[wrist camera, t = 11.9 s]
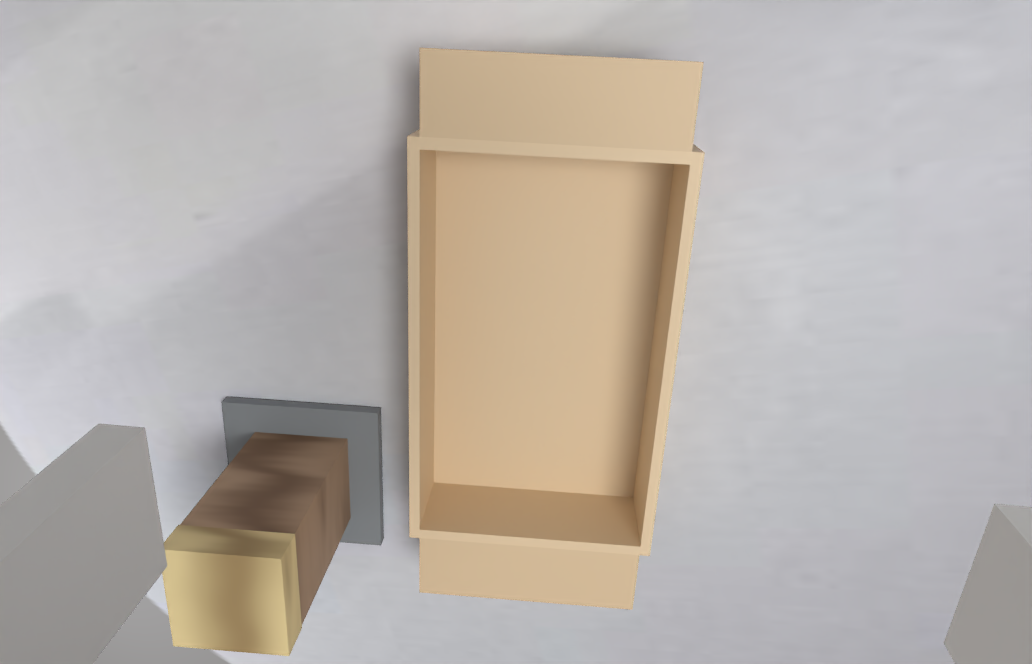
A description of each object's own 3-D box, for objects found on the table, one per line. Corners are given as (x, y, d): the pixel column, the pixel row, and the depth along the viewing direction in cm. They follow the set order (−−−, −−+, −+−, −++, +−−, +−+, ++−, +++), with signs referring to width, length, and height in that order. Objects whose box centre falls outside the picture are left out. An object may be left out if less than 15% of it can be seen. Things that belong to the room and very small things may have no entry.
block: (261, 511, 50) (173, 646, 39) (254, 431, 48) (158, 549, 36) (351, 518, 49) (289, 655, 38) (348, 438, 47) (281, 559, 36)
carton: (427, 47, 39) (406, 46, 34) (696, 60, 39) (716, 62, 34) (425, 536, 51) (409, 591, 45) (634, 552, 50) (642, 610, 45)
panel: (226, 396, 48) (221, 402, 47) (380, 407, 47) (377, 413, 46) (240, 526, 51) (235, 533, 51) (383, 538, 51) (380, 545, 50)
